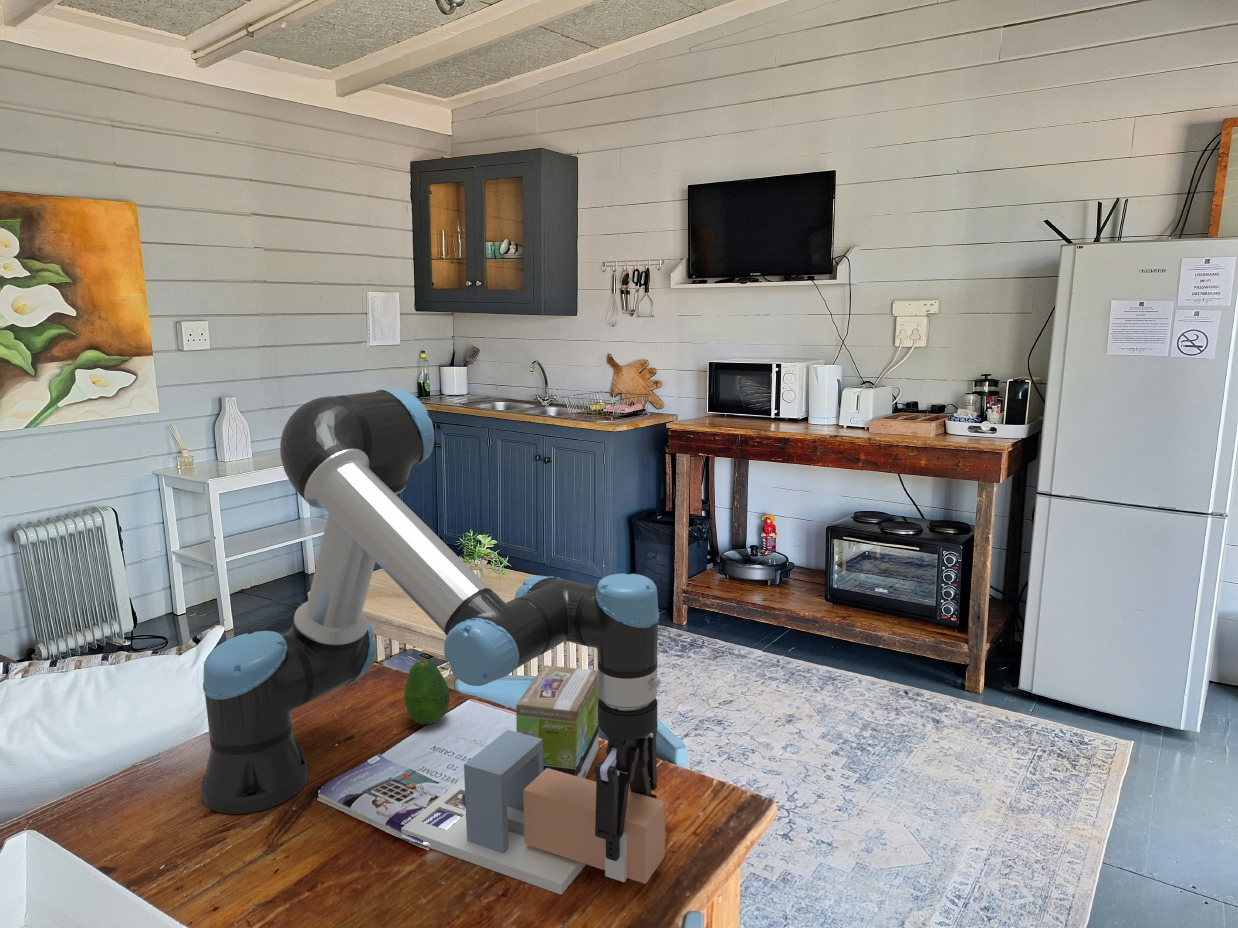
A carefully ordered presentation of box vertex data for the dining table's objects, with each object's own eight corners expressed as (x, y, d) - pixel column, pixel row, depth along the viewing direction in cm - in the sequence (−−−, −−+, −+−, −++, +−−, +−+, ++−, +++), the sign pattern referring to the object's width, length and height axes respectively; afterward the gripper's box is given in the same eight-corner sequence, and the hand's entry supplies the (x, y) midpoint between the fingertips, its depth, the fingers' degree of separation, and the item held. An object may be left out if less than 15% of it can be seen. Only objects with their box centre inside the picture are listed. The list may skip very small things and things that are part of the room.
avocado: (396, 724, 150) (393, 661, 147) (430, 707, 156) (427, 647, 154) (427, 738, 145) (424, 673, 143) (460, 720, 151) (458, 657, 149)
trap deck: (401, 837, 118) (396, 753, 116) (462, 787, 130) (459, 709, 128) (561, 894, 107) (559, 801, 104) (611, 833, 119) (611, 749, 116)
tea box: (578, 800, 127) (577, 709, 124) (515, 792, 129) (512, 703, 126) (600, 749, 141) (599, 667, 139) (543, 743, 143) (541, 662, 141)
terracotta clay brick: (524, 843, 113) (523, 789, 112) (547, 819, 119) (546, 767, 117) (645, 883, 105) (645, 826, 104) (664, 856, 111) (665, 801, 109)
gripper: (620, 738, 95) (620, 917, 100) (684, 673, 112) (681, 829, 116) (563, 724, 99) (566, 897, 103) (633, 663, 115) (633, 814, 120)
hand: (627, 861), depth 110 cm, fingers closed on terracotta clay brick, 6 cm apart
